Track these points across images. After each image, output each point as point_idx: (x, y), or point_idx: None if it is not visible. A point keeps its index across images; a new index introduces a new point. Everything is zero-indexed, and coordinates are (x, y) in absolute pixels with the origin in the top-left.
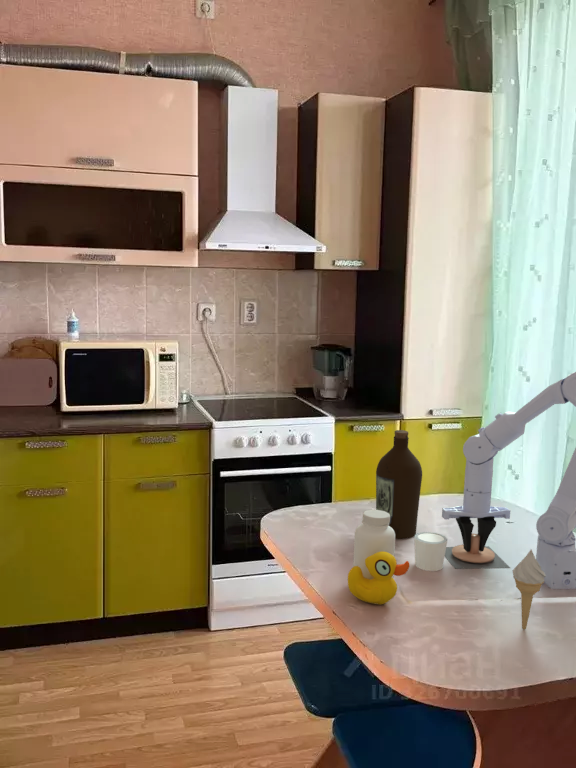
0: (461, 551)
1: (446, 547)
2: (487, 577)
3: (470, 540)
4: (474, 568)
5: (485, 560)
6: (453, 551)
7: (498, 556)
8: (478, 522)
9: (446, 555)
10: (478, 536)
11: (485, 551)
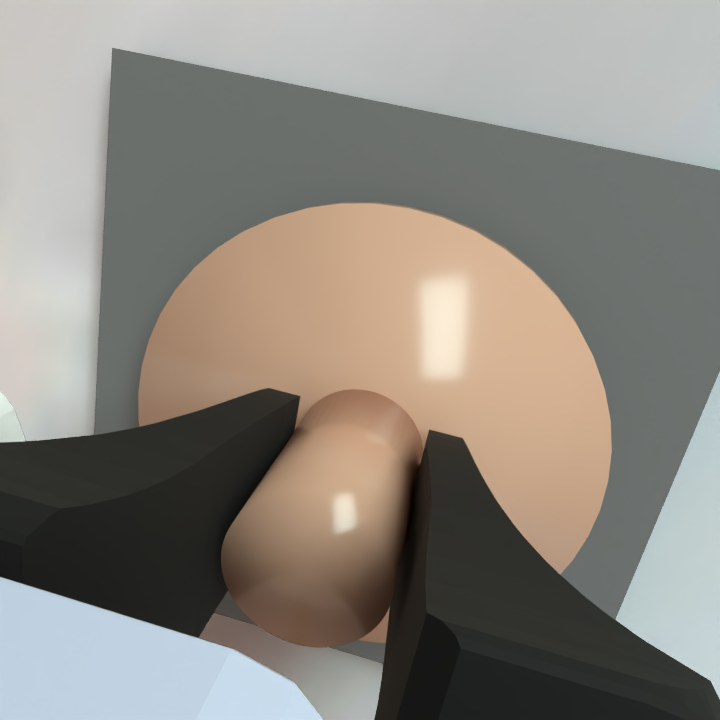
0: (237, 394)
1: (216, 86)
2: (309, 700)
3: (211, 604)
4: (248, 620)
5: (369, 638)
6: (152, 366)
7: (662, 491)
8: (411, 627)
9: (122, 307)
10: (343, 625)
11: (514, 473)
